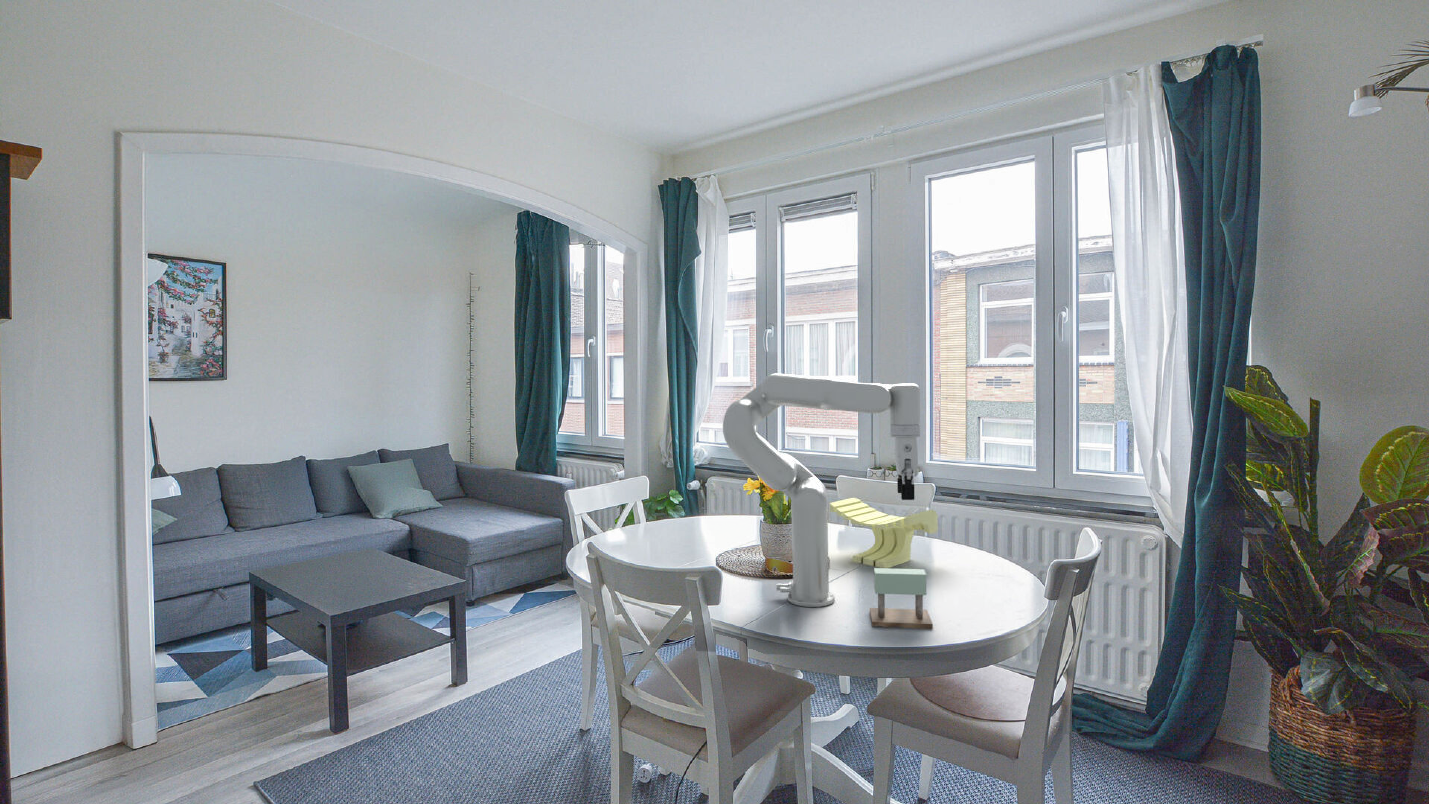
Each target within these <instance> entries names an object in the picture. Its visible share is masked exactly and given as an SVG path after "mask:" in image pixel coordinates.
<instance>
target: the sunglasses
mask: <svg viewBox="0 0 1429 804" xmlns="http://www.w3.org/2000/svg"><path fill="white" fill-rule="evenodd" d="M775 558H776V557H770V556H765V562H764V563H765V569H766V568H768V569H769V570H771V571H775V572H776V571H777V573H778V571H779V572H785V573H793V562H789V561H784V560H780V559H775Z"/></svg>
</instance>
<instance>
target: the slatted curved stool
mask: <svg viewBox="0 0 1429 804" xmlns="http://www.w3.org/2000/svg"><path fill="white" fill-rule="evenodd" d="M829 512H831V513H836V516H838V517H843V520H844V521H849V522H850V525H857V526H862V527H868V528H871V530H872V533H873V535H874V544H873V545H872V546H871V547H870V548H869V549H867V550H865V551H863V552H861V553H859V554H855V555H853V556H852V559H851V561H850V562H854V563H859V564H863V565H866V566H869V567H874V568H888V569H891V568H893V567H895V566H899V565H901V564H903V563H907V562H909V561H910V560H911V555H912V554H911V551H912V548H911V547H912V542H913V541H912V540H913V537H914V534H915V531H920V532H922V531H924V533H927V534H930V535H931V534H934V533H938V530H939V529H938V528H939V527H938V525H939V523H938V514H937V511H936V510H934V509H929V510H925V511H924V510H923V511H921V512H917V513H914V514H910V515H908V516H896V515H889V514H887V513H884V512H883V511H882V512H881V511H879V510H877V509H875V508H874V507H872V506H871V507H870V505H869V504H867V503H865V502H863V501H862V499H858V498H857V497H850V498H846V499H842V500H841V499H840V500H836V501H833V502H829Z"/></svg>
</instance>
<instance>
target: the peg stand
mask: <svg viewBox="0 0 1429 804" xmlns="http://www.w3.org/2000/svg"><path fill="white" fill-rule="evenodd" d="M885 595H886V594H877V607H869V615H870V621H871V627H872V626H882V627H881V628H892V627H902V628H901V629H920V628H921V630H923V629H924V630H933V628H934V626H933V621H932V619H931V617H930V614H929V611H928V609H924V608H923V607H924V602H923V601H924V599H923V598H924V597H923V596H924V595H915V602H914V603H915V608H914V609H911V608H886V607H885V605H886V604H885V603H886V601H885Z"/></svg>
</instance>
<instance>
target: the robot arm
mask: <svg viewBox="0 0 1429 804" xmlns="http://www.w3.org/2000/svg"><path fill="white" fill-rule="evenodd" d="M782 406H783V407H794V408H807V409H813V410H814V409H815V410H816V409H817V410H824V411H825V410H826V411H829V410H831V411H844V412H855V413H862V414H863V413H866V414H874V415H875V414H881V413H884V412H885V411H890V412H889V413H890V414H889V417H890V419H889V421H890V422H889V423H890V427H889V428H890V434H889V435H890V438H894V451H895V452H894V455H895V457H894V458H895V469H896V473H897V485H896V486H897V493H898V494H900V498H901V500H902V501H914V500H915V483H914V481H915V480H914V477H915V476H916V477H917V476H918V475H919V454H918V440H917V438H920V437H921V389H920V387H919V385H918V384H916V383H895V384H882V383H877V382H876V383H873V382H872V383H867V382H865V383H863V382H853V381H852V382H851V381H844V380H837V379H834V378H829V377H822V376H813V375H801V374H800V375H797V374H790V373H788V374H787V373H772V374H769V375H767V376H766V377H765V378H764V379H763V381H762V382H761V383H760V384H758V385H757V386H756V387H755V388H753V389H752V390H751V391H749V392H748V393H747V394H746V395H744V396H743V397H741V398H740V399H738V400H735V401H734V402H732V403H731V404H730V405H729V406H728V408H727V409H726V412H725V413H724V416H723V420H722V421H723V422H722V434H723V436H724V437H723V438H724V440H725V442H726V444H727V446H728V448H729V449H730V450H731V452H732V453H733V454H734V455H735V456H736V457H737V458H738V459H739V460H740V461H741V462H743V464H744V465H746V466H747V468H749V469H750V470H751V472H753V474H755V475H756V476H758V478H760V479H761V481H763V482H764V484H766V485H767V486H768V487H769V488H770V489H771V490H774V491H779V492H782V493H783V494H785V496H786V497H787V498H788V499H790V502H791V503H790V513H791V515H790V516H791V541H792V542H791V543H792V549H791V550H792V561H793V562H792V563H793V576H792V579H791V582H788V583H780V582H779V583H778V582H776V591H780V593H788V594H787V600H788V602H790V603H791V604H793V605H795V606H796V605H797V606H800V607H806V608H817V607H825V606H829V605H831V604H833V603H834V602H835V597H836V596H835V594H834V593H832V592H831V591H829V588H830V587H829V586H830V584H829V583H830V581H829V579H830V577H829V530H828V529H829V528H828V527H829V526H828V524H829V521H828V520H829V518H828V516H829V515H828V514H829V498H828V497H829V496H828V491H827V488H826V486H825V484H824V483H823V482H822V481H821V480H820V479H818V477H816V476H815V475H814V474H813V473H812V472H811V471H810V470H809V469H808V468H807V467H805V466H804V465H803V464H802V463H801V462H799V460H797V459H796V458H795V457H794V456H792V455H790V454H789V453H786V452H782V451H781V452H779V451H778V450H777V449H776V448H775V447H773V446H772V445H771V444H770V443H769V442H768V441H767V440H766V439H765V438H764V437H762V435H760V434H759V433H758V432H757V430H756V428H755V426H757V425H759V423H760V422H761V421H763V420H764V419H766V418H767V417H768V416H769V415H771V414H772V413H774V412H775V411H776V410H777V409H778V408H780V407H782Z"/></svg>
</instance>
